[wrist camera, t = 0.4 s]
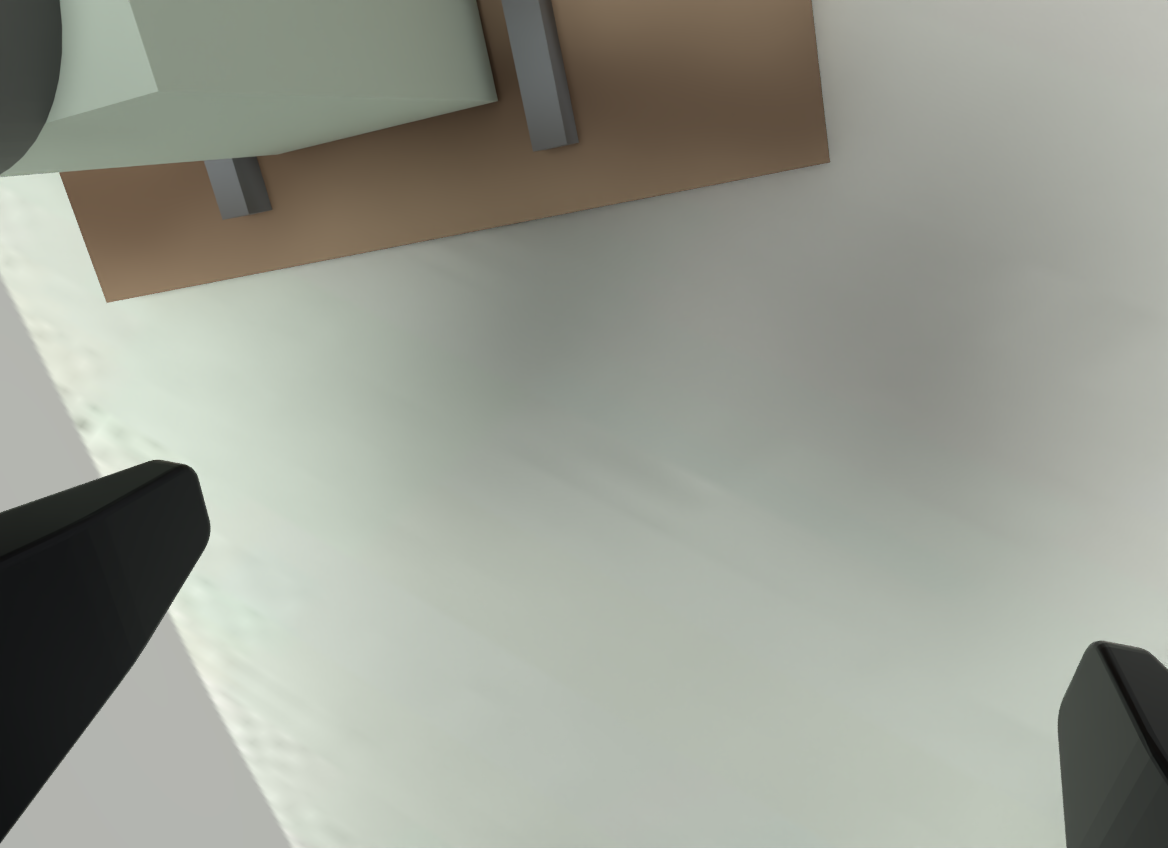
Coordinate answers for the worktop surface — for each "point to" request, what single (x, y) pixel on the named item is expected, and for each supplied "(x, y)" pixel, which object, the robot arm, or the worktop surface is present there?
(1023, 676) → the worktop surface
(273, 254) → the knob mount
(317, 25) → the pale green capped bottle
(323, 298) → the worktop surface
